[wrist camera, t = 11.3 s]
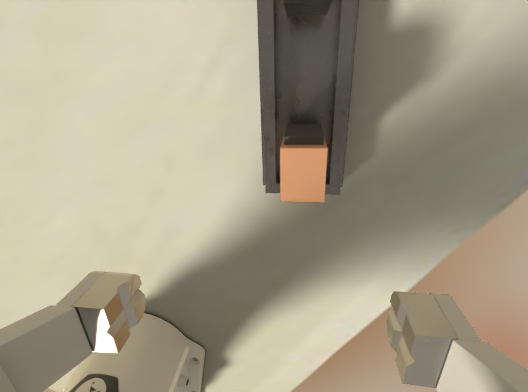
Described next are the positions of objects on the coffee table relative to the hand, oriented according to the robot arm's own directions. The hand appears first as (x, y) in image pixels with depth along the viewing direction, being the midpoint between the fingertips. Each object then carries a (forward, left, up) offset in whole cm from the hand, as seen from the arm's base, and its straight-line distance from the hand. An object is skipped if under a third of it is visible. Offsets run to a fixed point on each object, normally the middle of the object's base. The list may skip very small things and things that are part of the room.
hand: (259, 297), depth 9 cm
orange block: (0, -1, -20) cm, 20 cm away
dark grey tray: (+6, -1, -22) cm, 22 cm away
